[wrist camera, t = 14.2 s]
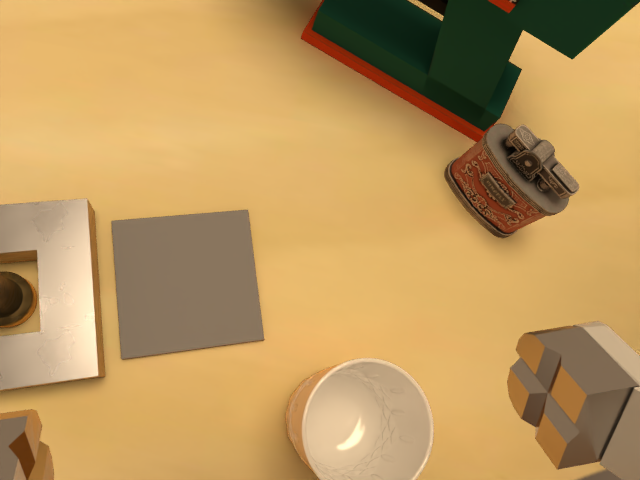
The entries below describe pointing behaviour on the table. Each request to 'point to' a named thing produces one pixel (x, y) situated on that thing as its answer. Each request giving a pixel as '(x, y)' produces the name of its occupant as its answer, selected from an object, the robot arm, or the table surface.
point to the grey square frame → (54, 294)
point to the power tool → (454, 47)
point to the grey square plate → (185, 283)
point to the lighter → (510, 180)
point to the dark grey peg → (15, 299)
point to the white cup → (361, 422)
